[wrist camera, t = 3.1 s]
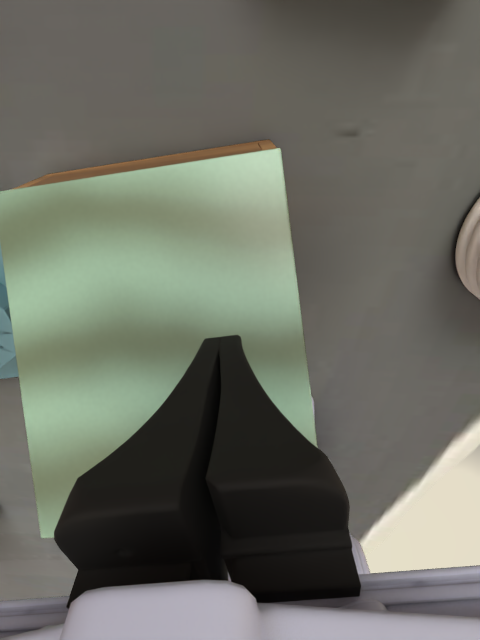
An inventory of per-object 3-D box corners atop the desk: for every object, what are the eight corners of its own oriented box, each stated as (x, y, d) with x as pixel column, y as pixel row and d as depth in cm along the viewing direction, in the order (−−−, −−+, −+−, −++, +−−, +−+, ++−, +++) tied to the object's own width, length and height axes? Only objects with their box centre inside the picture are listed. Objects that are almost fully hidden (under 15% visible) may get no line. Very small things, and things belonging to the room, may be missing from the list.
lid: (323, 504, 15) (326, 514, 14) (50, 529, 16) (40, 539, 15) (279, 154, 15) (280, 146, 14) (4, 197, 15) (-8, 191, 15)
